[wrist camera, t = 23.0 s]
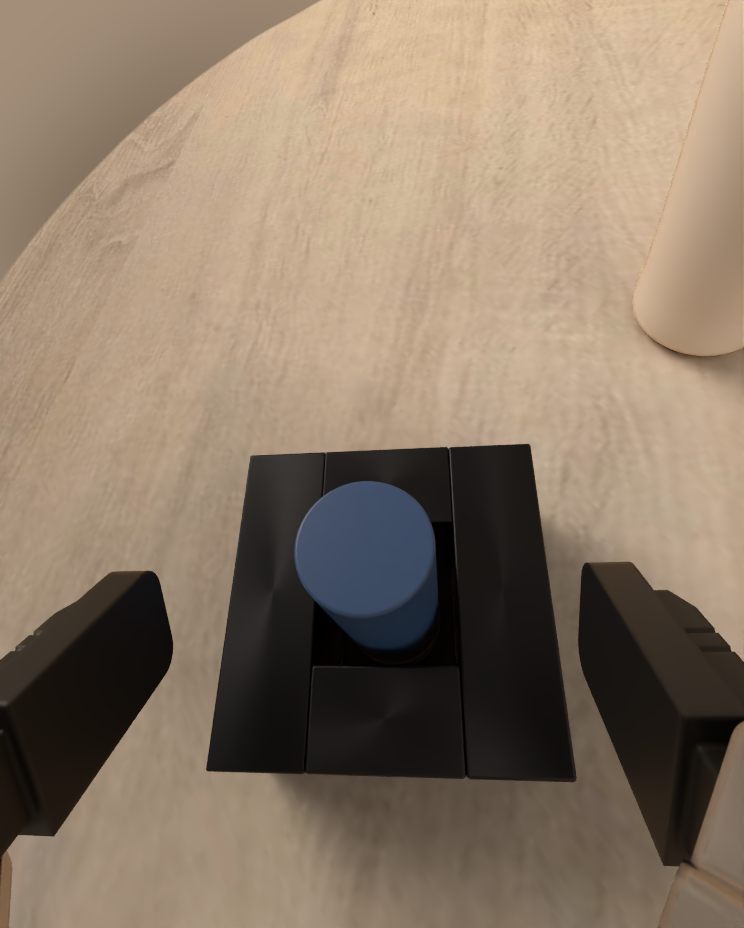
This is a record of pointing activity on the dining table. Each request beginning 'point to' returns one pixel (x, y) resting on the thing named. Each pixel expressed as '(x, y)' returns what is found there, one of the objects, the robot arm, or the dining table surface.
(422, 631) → the handle
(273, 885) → the dining table surface
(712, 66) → the drinking glass
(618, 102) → the dining table surface
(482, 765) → the holder
